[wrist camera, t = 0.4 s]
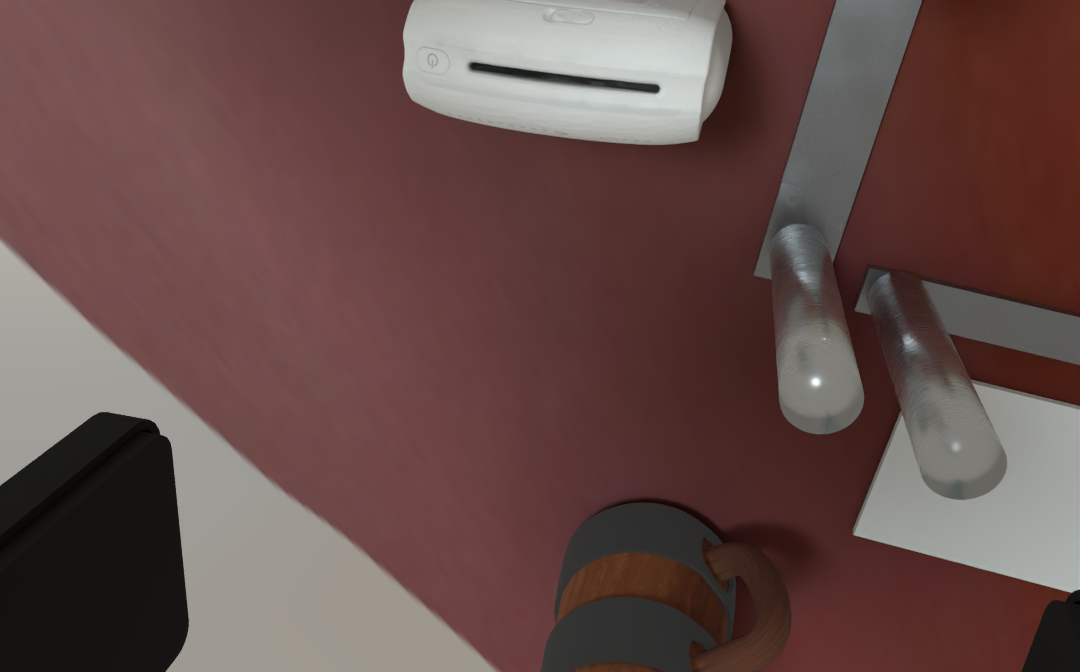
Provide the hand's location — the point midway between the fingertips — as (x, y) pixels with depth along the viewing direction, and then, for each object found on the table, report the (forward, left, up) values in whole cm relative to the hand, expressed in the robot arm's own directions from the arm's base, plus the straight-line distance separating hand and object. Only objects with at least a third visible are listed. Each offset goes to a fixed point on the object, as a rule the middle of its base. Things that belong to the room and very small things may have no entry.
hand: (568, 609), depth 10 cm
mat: (+19, -14, -32) cm, 39 cm away
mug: (+5, -22, -32) cm, 39 cm away
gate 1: (+6, +2, -32) cm, 32 cm away
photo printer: (-4, +2, -32) cm, 32 cm away
